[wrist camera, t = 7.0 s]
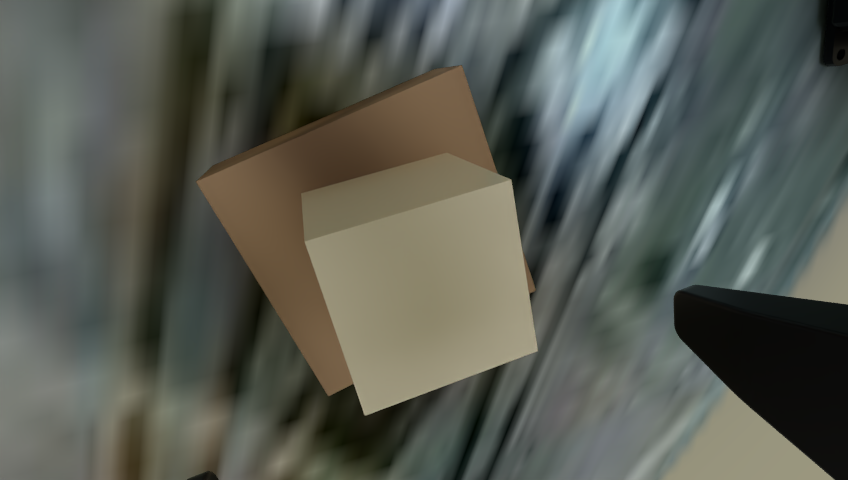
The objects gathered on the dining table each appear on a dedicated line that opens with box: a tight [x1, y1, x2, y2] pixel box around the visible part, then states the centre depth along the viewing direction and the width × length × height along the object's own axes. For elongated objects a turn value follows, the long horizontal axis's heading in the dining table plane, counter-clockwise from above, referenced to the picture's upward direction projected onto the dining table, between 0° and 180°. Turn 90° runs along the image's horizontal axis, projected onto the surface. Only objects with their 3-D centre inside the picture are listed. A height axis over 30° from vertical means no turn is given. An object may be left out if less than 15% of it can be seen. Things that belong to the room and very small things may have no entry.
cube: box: [301, 153, 538, 416], centre depth 14 cm, size 5×5×5 cm
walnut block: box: [196, 65, 536, 396], centre depth 17 cm, size 9×9×4 cm
